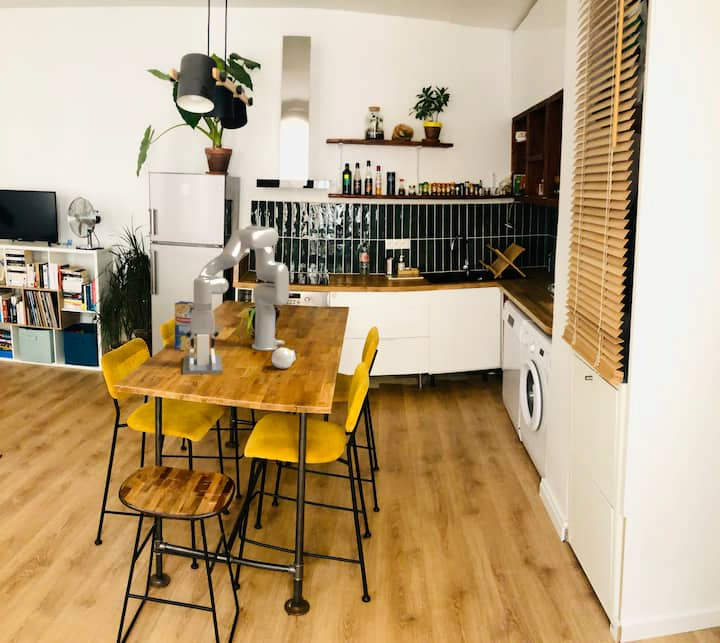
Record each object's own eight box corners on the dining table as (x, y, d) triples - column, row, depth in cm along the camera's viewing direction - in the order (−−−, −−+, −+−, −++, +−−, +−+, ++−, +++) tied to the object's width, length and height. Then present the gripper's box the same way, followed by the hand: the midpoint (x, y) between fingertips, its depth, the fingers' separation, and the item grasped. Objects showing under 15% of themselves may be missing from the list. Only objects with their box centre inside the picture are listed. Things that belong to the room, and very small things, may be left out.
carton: (208, 359, 313) (208, 330, 311) (209, 364, 305) (209, 335, 302) (196, 359, 312) (196, 330, 310) (196, 365, 303) (196, 335, 301)
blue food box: (196, 351, 333) (196, 305, 329) (174, 349, 335) (174, 303, 331) (202, 348, 340) (202, 302, 336) (180, 346, 342) (180, 301, 338)
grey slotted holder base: (220, 358, 323) (220, 348, 322) (222, 373, 298) (222, 363, 297) (183, 358, 319) (183, 348, 318) (183, 374, 294) (183, 363, 293)
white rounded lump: (274, 374, 306) (287, 369, 320) (292, 363, 303) (304, 359, 318) (264, 355, 306) (277, 352, 321) (282, 344, 304) (294, 341, 318)
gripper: (181, 308, 298) (181, 349, 301) (223, 308, 302) (223, 349, 305) (181, 305, 305) (181, 345, 309) (223, 305, 309) (222, 345, 312)
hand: (202, 347), depth 307 cm, fingers open, 7 cm apart
